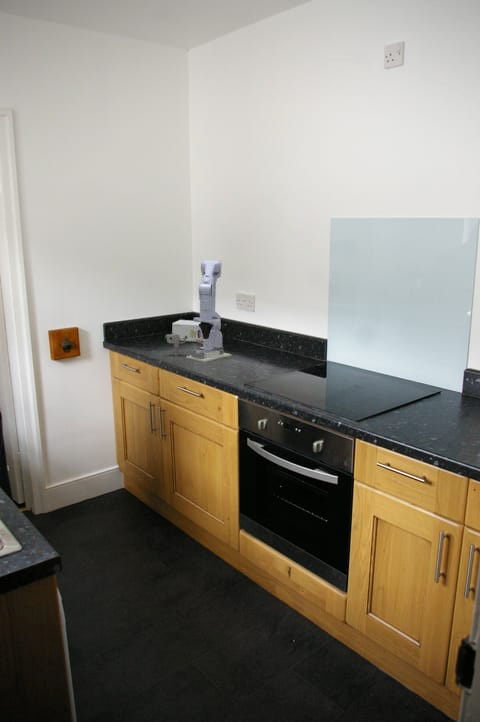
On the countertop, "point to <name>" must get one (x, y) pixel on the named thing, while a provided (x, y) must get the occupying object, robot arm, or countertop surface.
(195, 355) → the board
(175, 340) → the mechanical component
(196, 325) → the supplement box
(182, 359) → the countertop surface
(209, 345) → the strip
